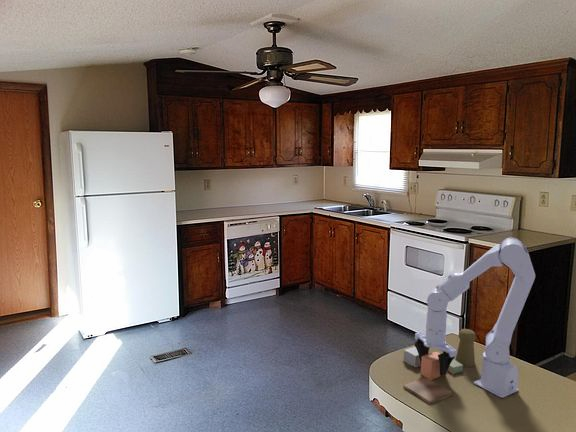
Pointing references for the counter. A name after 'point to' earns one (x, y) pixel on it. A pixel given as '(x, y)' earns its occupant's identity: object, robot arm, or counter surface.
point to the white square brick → (412, 356)
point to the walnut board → (427, 390)
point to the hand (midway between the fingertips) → (433, 369)
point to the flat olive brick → (455, 367)
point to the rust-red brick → (430, 366)
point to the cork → (466, 348)
